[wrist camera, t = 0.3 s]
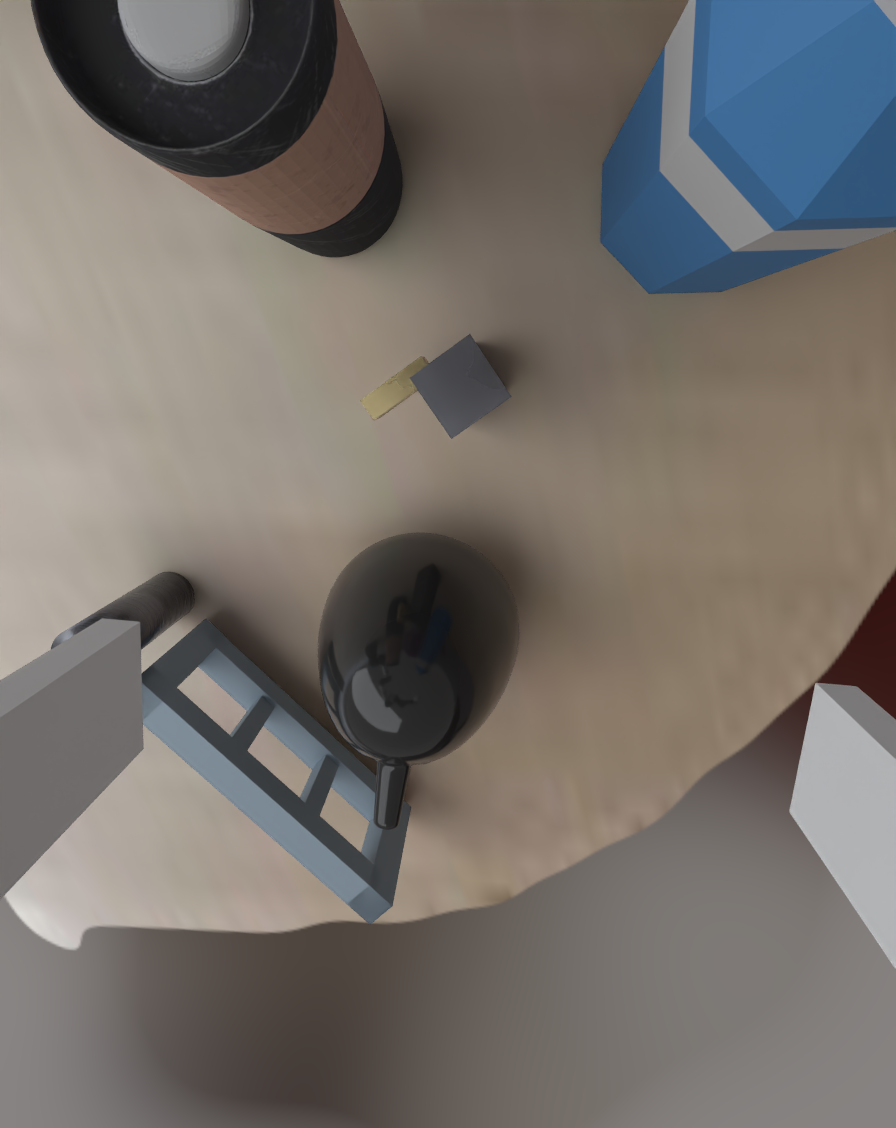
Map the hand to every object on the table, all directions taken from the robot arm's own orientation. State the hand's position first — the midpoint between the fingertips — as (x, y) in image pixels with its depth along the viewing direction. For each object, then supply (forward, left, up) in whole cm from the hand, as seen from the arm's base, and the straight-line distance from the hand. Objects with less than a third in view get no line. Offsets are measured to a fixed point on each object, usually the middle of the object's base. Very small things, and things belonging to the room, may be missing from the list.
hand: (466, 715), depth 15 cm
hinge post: (-5, -18, -28) cm, 34 cm away
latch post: (-6, +1, -28) cm, 28 cm away
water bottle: (-6, +17, -28) cm, 33 cm away
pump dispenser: (+4, -6, -28) cm, 29 cm away
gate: (+5, -17, -27) cm, 32 cm away
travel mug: (-17, +3, -28) cm, 33 cm away
